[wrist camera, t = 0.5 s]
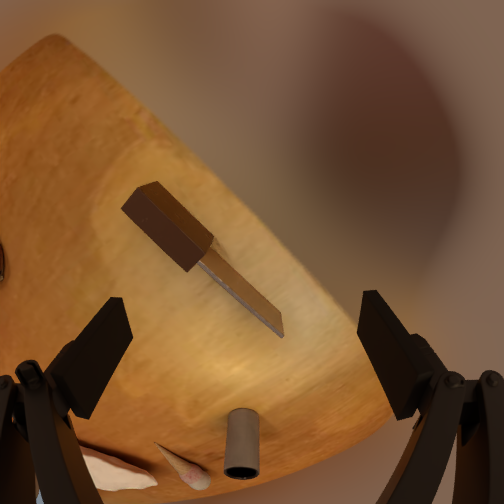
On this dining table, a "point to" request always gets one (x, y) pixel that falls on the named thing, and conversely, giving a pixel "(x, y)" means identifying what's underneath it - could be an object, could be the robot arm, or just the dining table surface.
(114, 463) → the white rock slab
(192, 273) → the dining table surface
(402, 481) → the robot arm
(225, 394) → the dining table surface
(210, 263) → the knife
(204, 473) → the ice cream cone
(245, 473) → the grey cylinder
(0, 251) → the bread roll
